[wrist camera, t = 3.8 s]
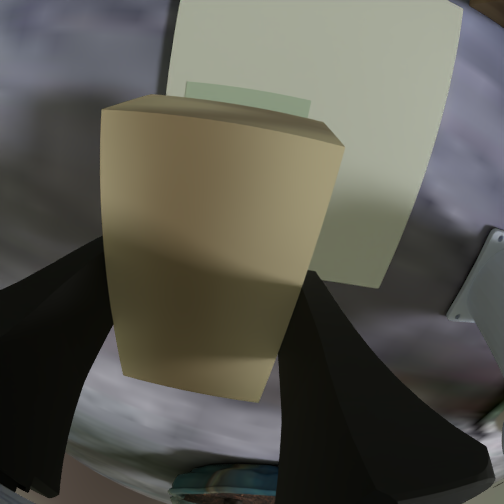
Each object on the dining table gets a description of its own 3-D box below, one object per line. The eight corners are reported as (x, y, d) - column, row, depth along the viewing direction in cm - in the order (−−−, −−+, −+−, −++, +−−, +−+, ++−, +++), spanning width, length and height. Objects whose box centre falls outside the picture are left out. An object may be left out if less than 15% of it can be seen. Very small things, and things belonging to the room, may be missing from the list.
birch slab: (323, 122, 8) (345, 147, 6) (262, 342, 13) (258, 402, 11) (150, 94, 8) (101, 109, 6) (145, 320, 13) (123, 375, 10)
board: (457, 9, 11) (463, 8, 10) (376, 283, 20) (378, 289, 19) (196, -56, 10) (194, -61, 9) (159, 246, 19) (156, 252, 19)
